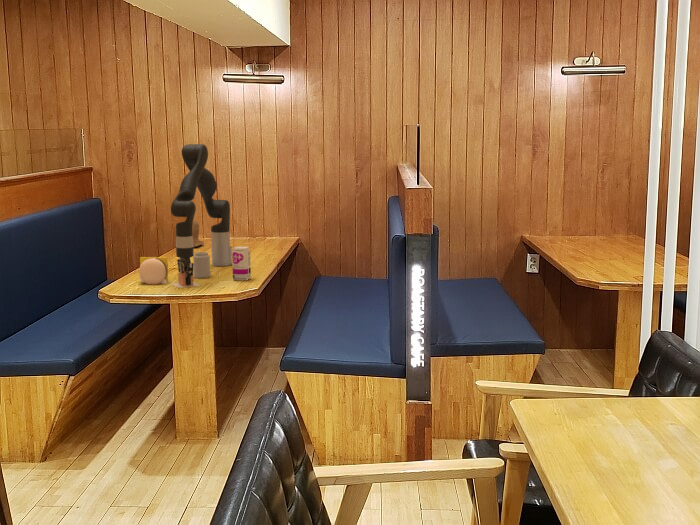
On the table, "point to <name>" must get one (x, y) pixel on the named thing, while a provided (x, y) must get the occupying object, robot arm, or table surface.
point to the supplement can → (241, 263)
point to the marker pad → (185, 286)
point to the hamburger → (153, 270)
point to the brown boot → (195, 234)
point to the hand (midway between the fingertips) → (186, 283)
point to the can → (201, 265)
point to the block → (184, 279)
